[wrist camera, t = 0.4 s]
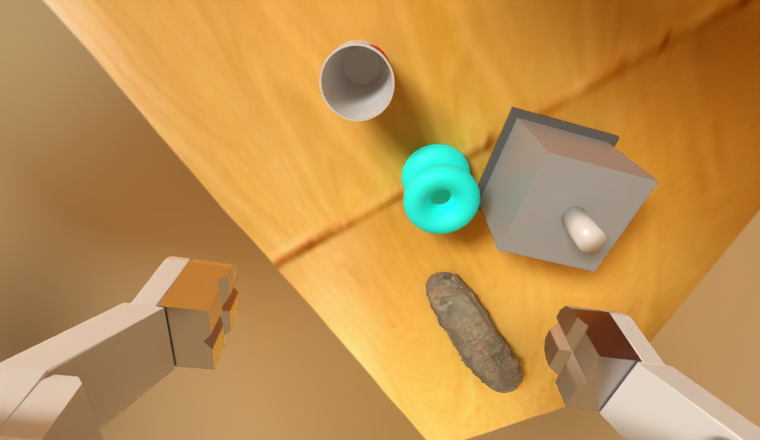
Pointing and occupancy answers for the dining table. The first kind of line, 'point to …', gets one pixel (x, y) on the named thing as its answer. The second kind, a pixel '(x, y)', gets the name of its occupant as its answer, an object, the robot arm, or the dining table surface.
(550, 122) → the mat
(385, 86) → the cup
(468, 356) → the elongated rock
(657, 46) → the dining table surface
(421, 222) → the donuts
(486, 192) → the cover
